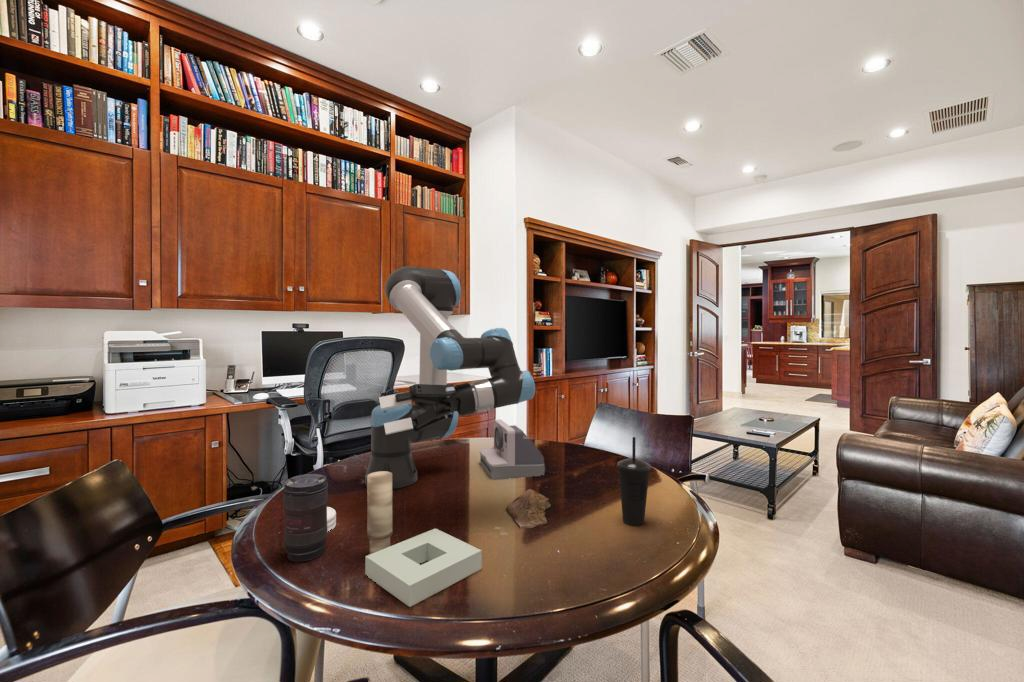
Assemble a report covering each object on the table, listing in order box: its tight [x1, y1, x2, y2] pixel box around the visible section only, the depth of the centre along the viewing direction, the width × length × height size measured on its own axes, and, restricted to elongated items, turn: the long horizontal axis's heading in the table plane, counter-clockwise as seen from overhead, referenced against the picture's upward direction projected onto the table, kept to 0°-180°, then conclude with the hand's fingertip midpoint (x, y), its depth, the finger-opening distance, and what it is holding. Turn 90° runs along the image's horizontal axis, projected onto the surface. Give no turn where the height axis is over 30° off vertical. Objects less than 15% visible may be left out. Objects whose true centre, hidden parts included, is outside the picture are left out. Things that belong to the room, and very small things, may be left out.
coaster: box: [327, 506, 337, 533], centre depth 101 cm, size 10×10×4 cm
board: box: [364, 527, 483, 608], centre depth 82 cm, size 14×16×4 cm
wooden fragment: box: [505, 488, 552, 530], centre depth 114 cm, size 26×11×1 cm, turn 171°
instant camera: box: [479, 419, 546, 481], centre depth 146 cm, size 21×21×15 cm
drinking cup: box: [616, 436, 652, 527], centre depth 105 cm, size 8×8×20 cm
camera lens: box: [282, 473, 329, 563], centre depth 89 cm, size 8×8×15 cm
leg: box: [366, 471, 394, 555], centre depth 89 cm, size 5×5×16 cm
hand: (382, 417), depth 101 cm, fingers open, 13 cm apart
